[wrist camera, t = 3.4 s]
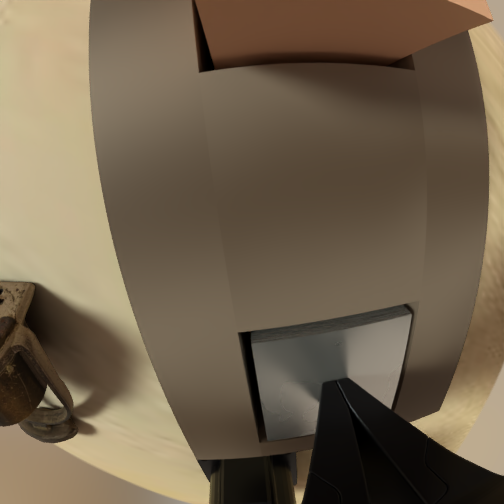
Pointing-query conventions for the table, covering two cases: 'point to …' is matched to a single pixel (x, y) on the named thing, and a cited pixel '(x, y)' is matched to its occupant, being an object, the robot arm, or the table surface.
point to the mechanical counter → (28, 372)
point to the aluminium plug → (326, 364)
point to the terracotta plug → (331, 29)
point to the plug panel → (283, 207)
